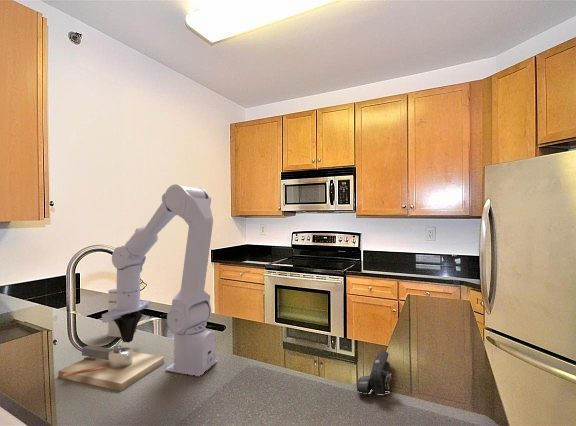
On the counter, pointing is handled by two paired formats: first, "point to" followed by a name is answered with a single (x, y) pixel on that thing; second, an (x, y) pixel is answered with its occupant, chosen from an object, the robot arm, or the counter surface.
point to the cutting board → (111, 371)
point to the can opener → (376, 376)
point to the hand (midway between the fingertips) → (127, 341)
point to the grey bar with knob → (110, 355)
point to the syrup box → (112, 326)
